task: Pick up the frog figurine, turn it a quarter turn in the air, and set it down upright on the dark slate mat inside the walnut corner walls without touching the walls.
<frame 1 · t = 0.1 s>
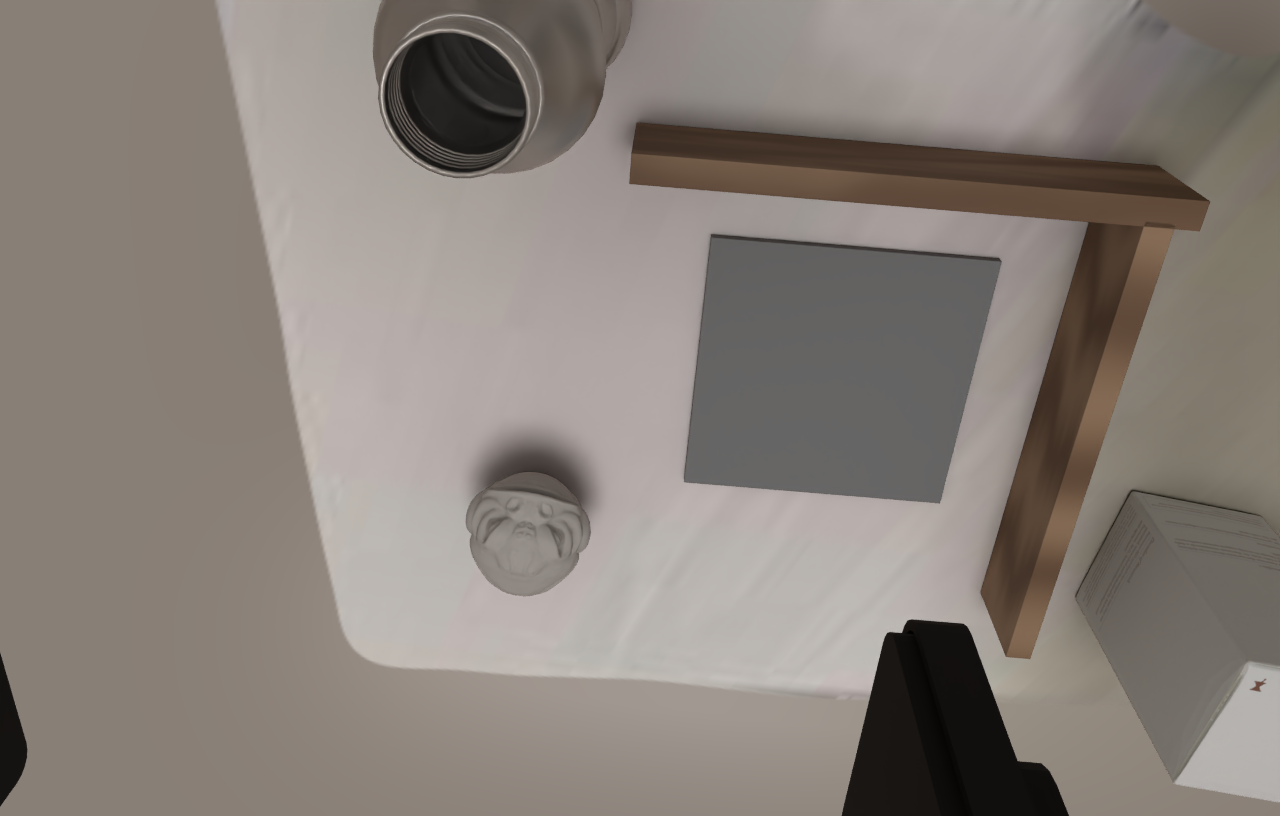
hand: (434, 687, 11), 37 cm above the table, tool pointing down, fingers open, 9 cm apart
slate mat: (831, 375, 50), on the table
corner walls: (831, 375, 50), on the table
supplement box: (1164, 555, 54), on the table
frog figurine: (537, 488, 54), on the table
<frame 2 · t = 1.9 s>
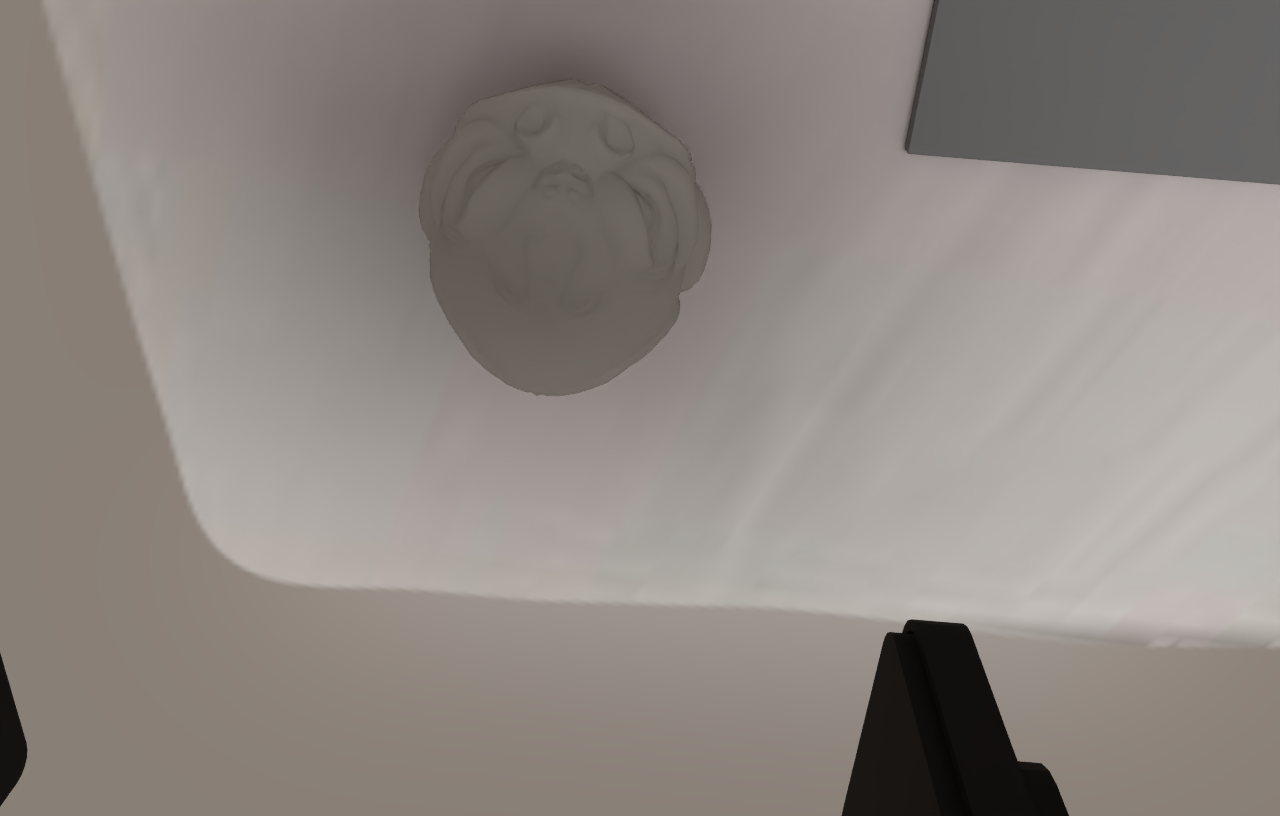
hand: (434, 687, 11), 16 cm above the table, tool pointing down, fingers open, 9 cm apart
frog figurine: (580, 182, 25), on the table
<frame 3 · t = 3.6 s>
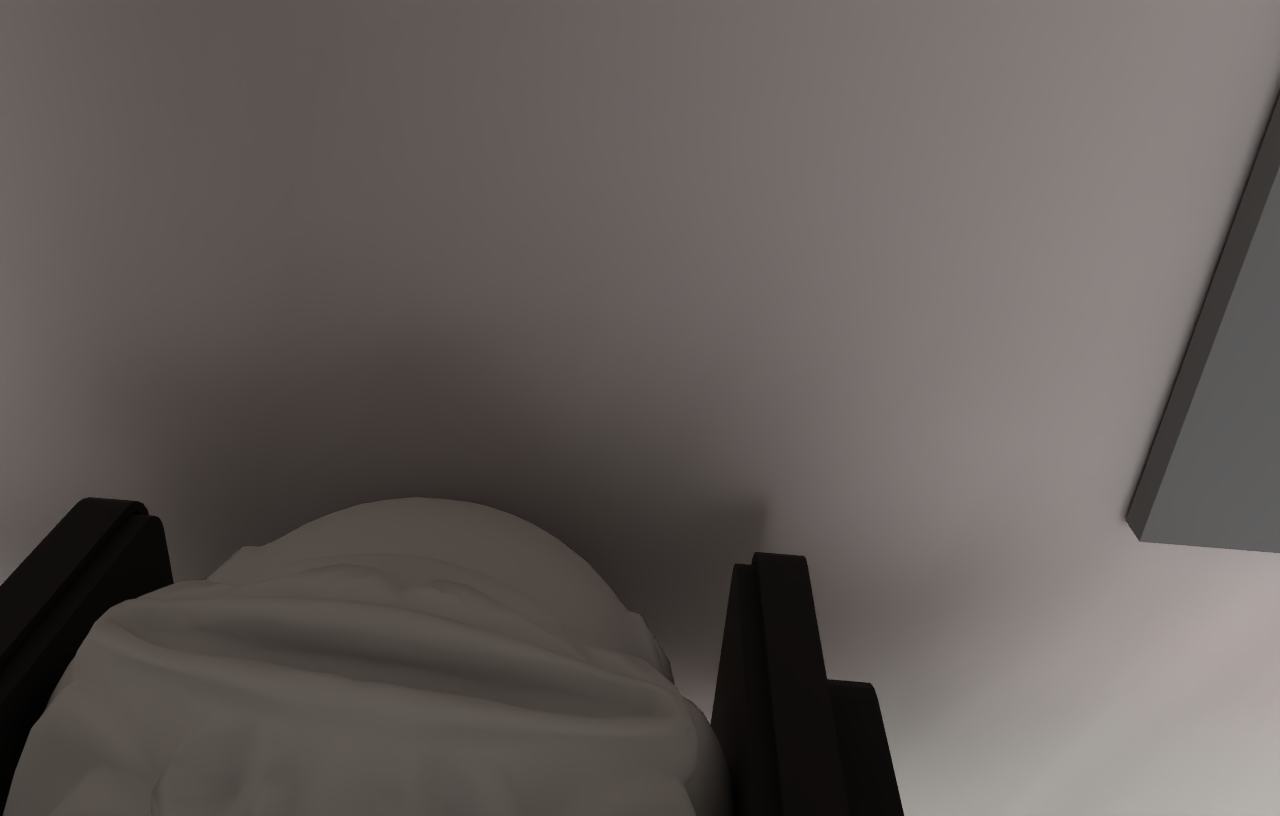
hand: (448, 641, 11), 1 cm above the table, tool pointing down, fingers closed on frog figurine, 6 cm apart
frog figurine: (468, 561, 13), on the table, touching gripper
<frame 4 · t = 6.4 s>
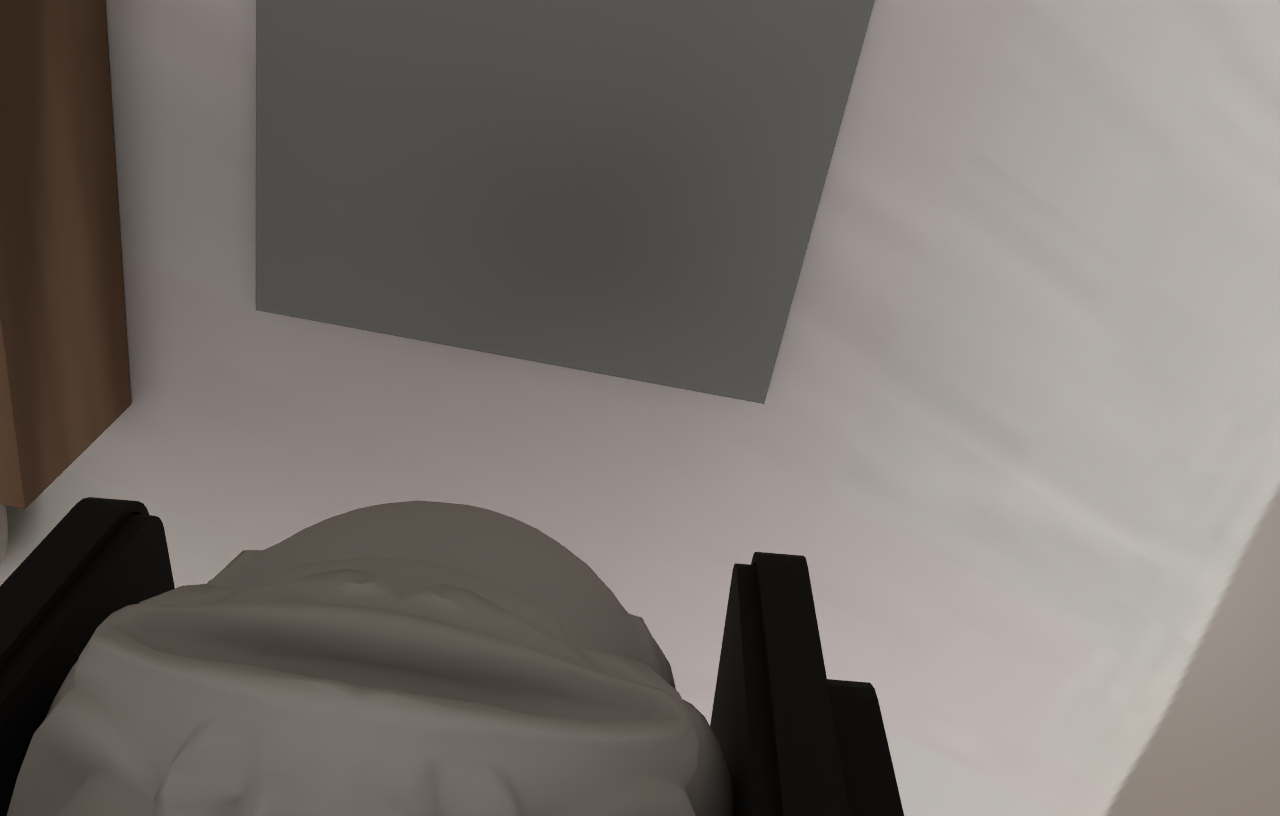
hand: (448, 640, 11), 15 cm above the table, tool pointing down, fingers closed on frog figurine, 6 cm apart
slate mat: (549, 95, 23), on the table
corner walls: (549, 95, 23), on the table
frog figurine: (469, 564, 13), point 14 cm above the table, touching gripper
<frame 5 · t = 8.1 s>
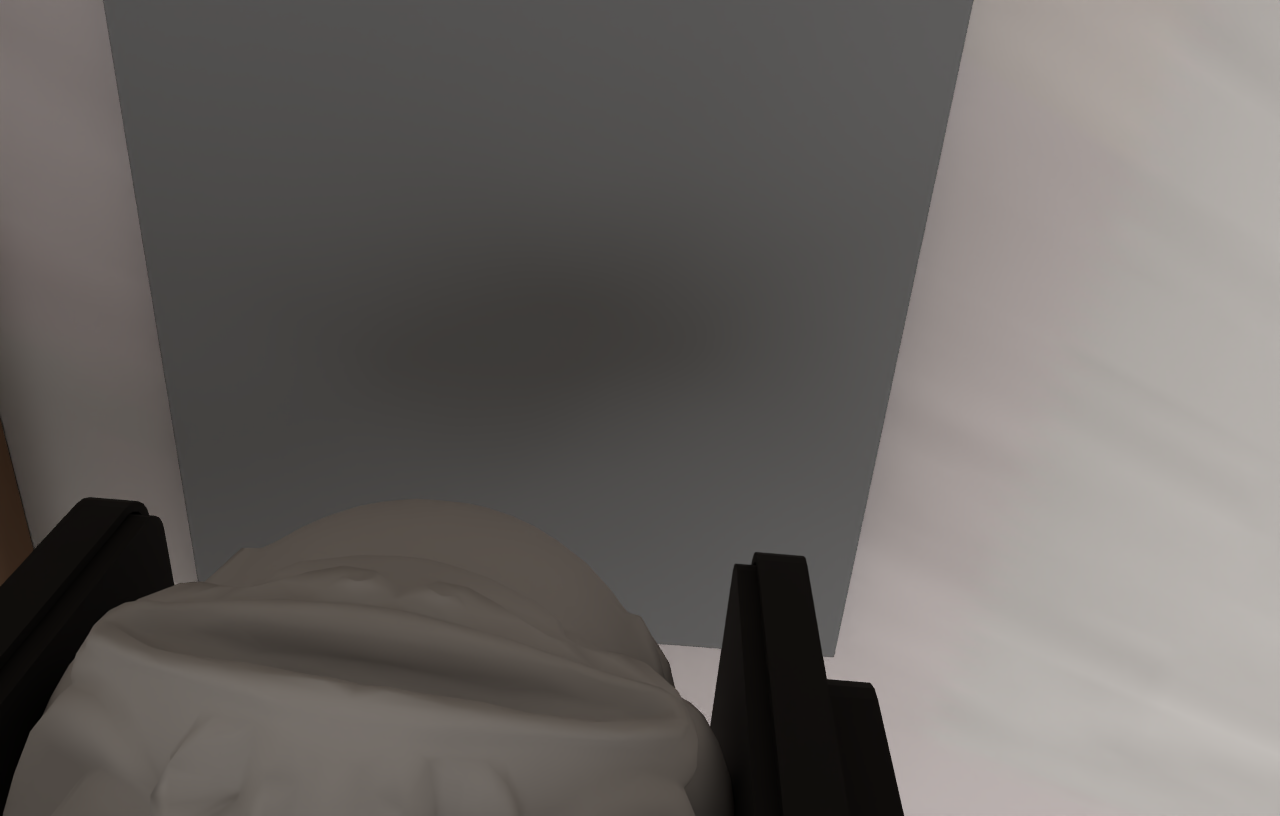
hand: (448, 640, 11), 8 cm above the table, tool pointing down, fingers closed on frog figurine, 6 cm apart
slate mat: (528, 337, 19), on the table
corner walls: (528, 337, 19), on the table
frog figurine: (468, 563, 13), point 7 cm above the table, touching gripper
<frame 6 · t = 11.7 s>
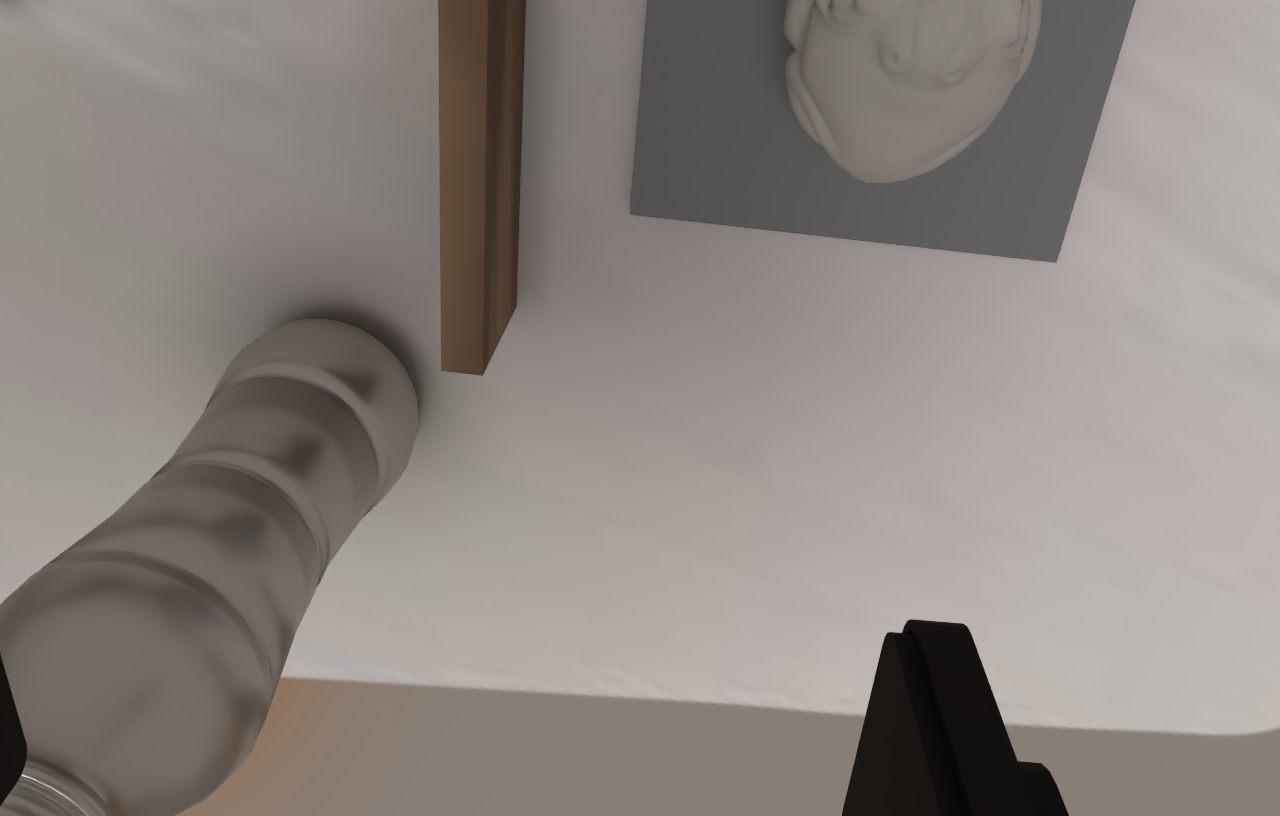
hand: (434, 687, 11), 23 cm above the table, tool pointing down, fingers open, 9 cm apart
slate mat: (882, 11, 29), on the table
plastic bottle: (345, 383, 36), on the table
corner walls: (882, 11, 29), on the table
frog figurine: (888, 15, 29), resting on slate mat
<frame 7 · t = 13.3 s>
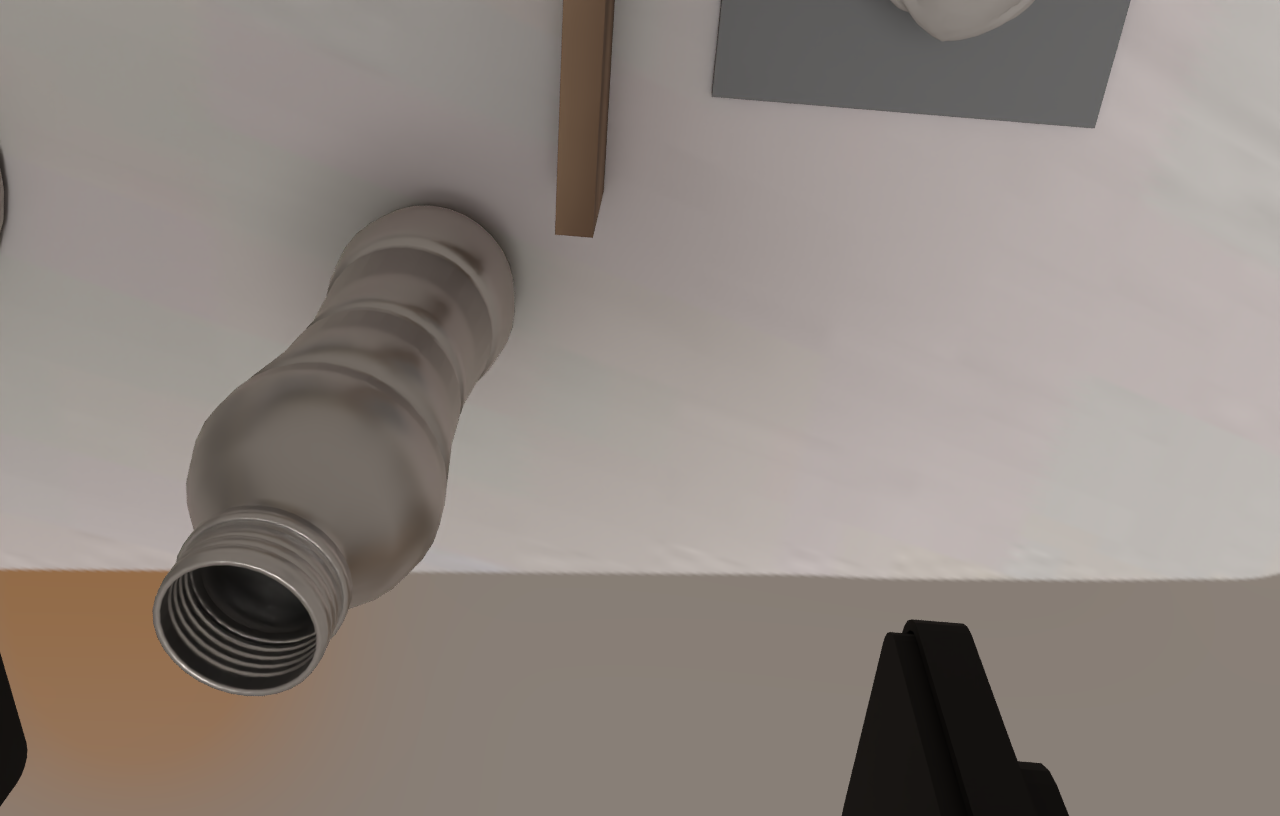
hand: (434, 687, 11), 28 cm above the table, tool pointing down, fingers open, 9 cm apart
plastic bottle: (440, 274, 39), on the table
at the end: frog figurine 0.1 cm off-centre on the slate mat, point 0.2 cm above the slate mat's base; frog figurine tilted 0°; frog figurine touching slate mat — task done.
